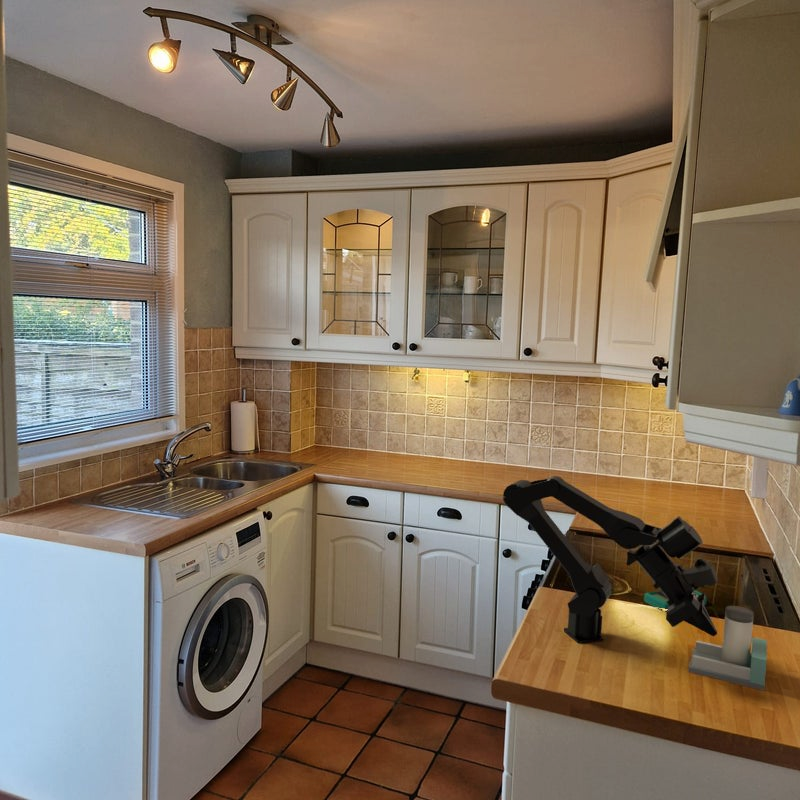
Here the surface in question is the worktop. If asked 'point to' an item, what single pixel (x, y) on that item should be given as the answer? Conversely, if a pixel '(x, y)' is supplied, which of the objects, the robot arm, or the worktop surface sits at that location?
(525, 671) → the worktop surface
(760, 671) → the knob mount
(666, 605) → the digital multimeter
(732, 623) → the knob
